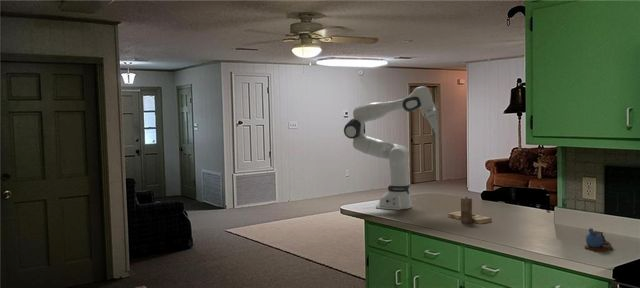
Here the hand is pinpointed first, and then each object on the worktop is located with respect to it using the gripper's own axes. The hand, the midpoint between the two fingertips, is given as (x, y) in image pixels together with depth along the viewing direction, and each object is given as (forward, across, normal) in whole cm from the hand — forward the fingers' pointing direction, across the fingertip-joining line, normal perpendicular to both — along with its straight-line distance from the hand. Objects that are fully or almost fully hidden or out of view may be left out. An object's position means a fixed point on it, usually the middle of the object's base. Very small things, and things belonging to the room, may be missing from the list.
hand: (436, 133), depth 323 cm
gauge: (+46, +42, 0) cm, 62 cm away
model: (+56, +96, +46) cm, 120 cm away
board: (+46, +35, +1) cm, 58 cm away
